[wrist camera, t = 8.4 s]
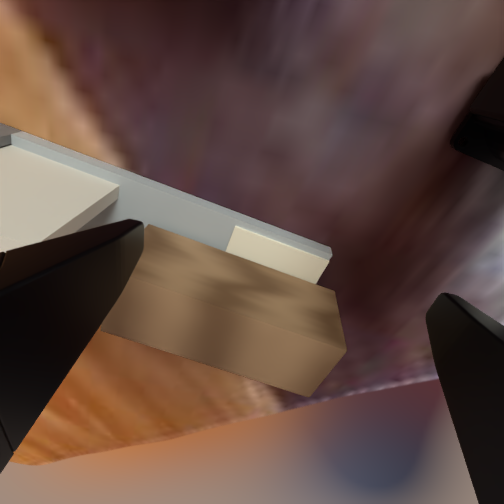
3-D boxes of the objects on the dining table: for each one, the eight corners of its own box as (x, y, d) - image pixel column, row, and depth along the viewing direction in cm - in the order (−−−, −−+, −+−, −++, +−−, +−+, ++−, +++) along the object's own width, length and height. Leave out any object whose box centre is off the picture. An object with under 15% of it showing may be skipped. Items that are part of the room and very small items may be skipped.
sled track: (330, 247, 22) (353, 343, 14) (277, 336, 27) (273, 442, 20) (-51, 103, 19) (-271, 128, 12) (-30, 232, 25) (-173, 307, 17)
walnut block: (334, 291, 22) (347, 350, 18) (304, 335, 25) (309, 397, 20) (148, 223, 21) (108, 269, 16) (137, 278, 24) (100, 330, 19)
